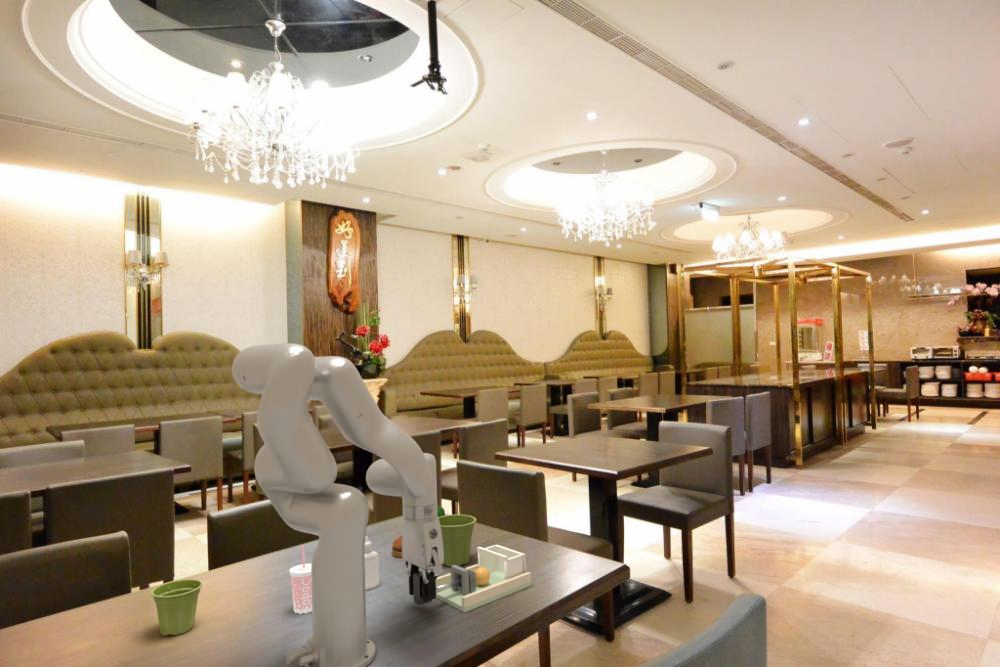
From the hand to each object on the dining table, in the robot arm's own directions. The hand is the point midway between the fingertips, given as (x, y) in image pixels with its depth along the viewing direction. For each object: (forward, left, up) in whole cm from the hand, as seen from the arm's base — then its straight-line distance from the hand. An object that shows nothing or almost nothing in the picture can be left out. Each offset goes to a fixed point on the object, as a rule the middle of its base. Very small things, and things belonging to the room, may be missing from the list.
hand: (422, 595), depth 124 cm
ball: (+16, 0, 0) cm, 17 cm away
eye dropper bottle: (-2, +21, -4) cm, 21 cm away
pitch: (+16, 0, -3) cm, 16 cm away
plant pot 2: (+23, +19, -4) cm, 30 cm away
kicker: (+6, 0, -2) cm, 6 cm away
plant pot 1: (-41, +30, -4) cm, 51 cm away
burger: (+19, +35, -4) cm, 40 cm away
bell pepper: (+34, +46, -4) cm, 57 cm away
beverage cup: (-18, +20, -4) cm, 27 cm away
